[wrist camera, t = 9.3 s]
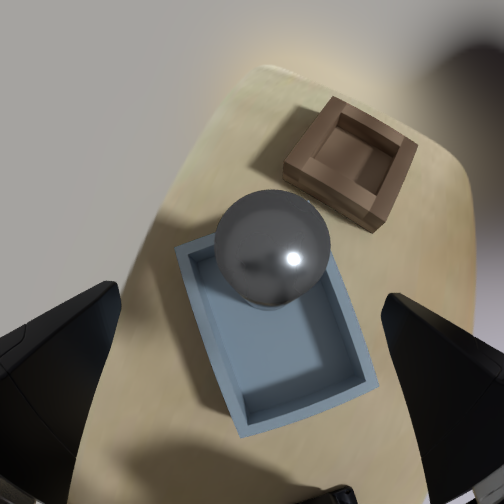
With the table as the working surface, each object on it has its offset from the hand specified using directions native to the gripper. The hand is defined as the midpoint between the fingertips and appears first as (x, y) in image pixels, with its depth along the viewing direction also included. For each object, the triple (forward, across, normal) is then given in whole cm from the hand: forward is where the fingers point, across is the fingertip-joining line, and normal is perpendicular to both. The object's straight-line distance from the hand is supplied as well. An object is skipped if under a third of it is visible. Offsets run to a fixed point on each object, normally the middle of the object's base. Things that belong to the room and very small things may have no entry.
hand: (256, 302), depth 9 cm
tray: (+10, -3, +9) cm, 13 cm away
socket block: (+18, -9, -2) cm, 20 cm away
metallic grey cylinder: (+11, -2, +6) cm, 13 cm away
